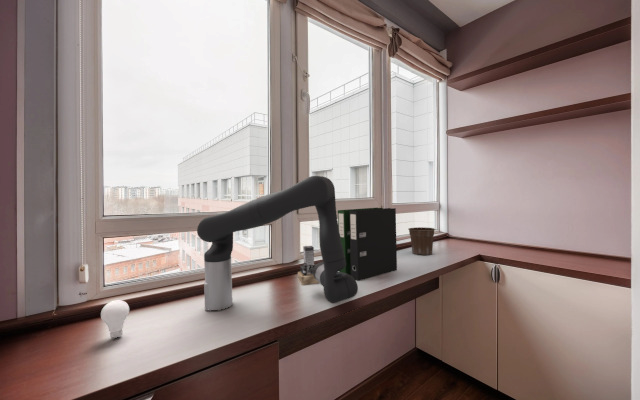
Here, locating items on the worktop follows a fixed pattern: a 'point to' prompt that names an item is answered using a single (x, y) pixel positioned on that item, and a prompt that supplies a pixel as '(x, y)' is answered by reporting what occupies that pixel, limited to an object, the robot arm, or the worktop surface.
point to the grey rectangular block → (308, 256)
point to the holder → (306, 279)
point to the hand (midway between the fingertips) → (314, 264)
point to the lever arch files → (368, 241)
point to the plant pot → (422, 240)
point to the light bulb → (115, 316)
